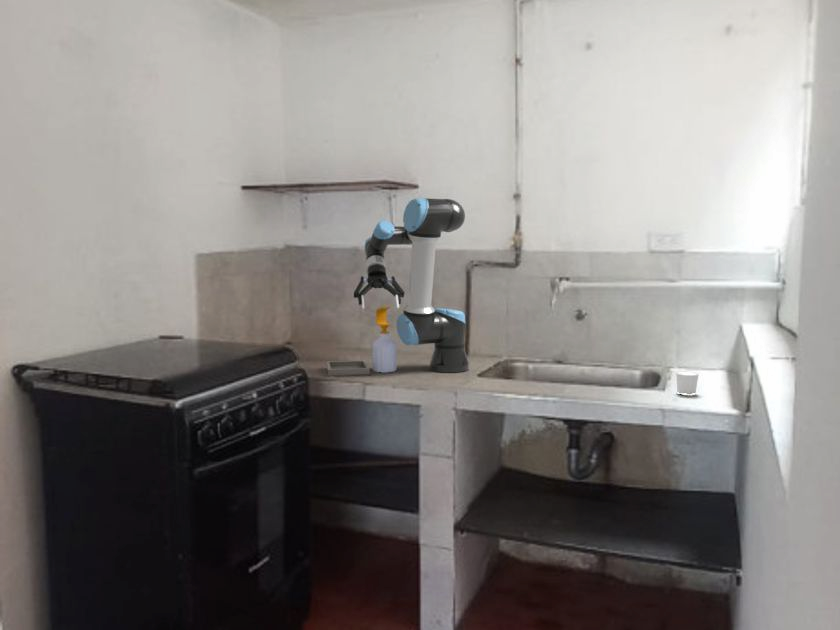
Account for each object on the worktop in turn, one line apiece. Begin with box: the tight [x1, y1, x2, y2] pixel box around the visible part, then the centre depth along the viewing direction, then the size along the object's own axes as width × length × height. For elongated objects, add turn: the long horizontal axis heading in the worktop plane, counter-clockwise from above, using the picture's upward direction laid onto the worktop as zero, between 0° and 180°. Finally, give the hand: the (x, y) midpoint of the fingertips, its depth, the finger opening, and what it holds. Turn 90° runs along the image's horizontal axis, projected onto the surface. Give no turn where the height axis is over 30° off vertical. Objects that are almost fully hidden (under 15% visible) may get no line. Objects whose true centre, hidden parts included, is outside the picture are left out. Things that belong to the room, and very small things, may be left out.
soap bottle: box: [371, 306, 397, 374], centre depth 269 cm, size 9×9×25 cm
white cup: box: [675, 371, 699, 394], centre depth 234 cm, size 7×7×7 cm
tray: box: [326, 360, 371, 377], centre depth 268 cm, size 15×16×3 cm
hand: (380, 310), depth 278 cm, fingers open, 13 cm apart
